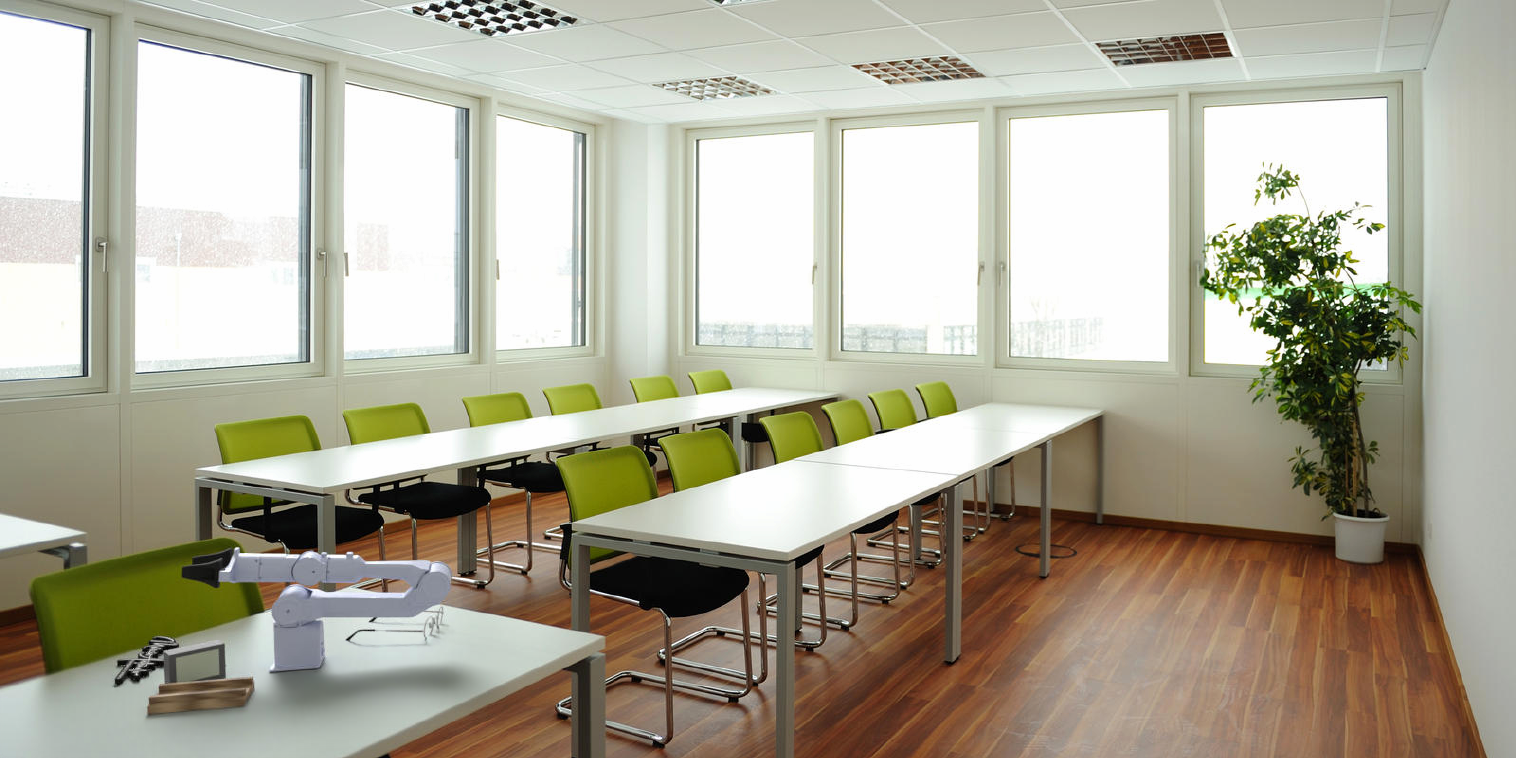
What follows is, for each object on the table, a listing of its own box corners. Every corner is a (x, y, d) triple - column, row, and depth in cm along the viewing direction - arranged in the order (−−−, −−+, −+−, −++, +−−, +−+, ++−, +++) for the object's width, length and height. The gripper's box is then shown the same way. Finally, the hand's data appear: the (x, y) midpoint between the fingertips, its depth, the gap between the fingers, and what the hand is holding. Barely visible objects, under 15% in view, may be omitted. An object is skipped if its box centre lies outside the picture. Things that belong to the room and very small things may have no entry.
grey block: (219, 673, 209) (218, 639, 208) (226, 677, 206) (224, 643, 206) (164, 685, 202) (163, 650, 201) (170, 691, 199) (168, 655, 199)
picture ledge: (254, 688, 200) (254, 674, 200) (244, 705, 192) (243, 691, 191) (162, 696, 196) (161, 682, 196) (147, 714, 187) (146, 699, 187)
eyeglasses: (427, 644, 228) (426, 622, 227) (342, 644, 228) (342, 621, 228) (449, 622, 244) (449, 601, 243) (370, 622, 244) (370, 601, 244)
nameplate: (134, 638, 227) (186, 633, 230) (135, 645, 227) (186, 640, 230) (100, 681, 201) (159, 675, 204) (101, 688, 201) (159, 682, 204)
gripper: (269, 540, 217) (197, 539, 214) (254, 556, 203) (178, 556, 200) (267, 573, 218) (196, 573, 214) (253, 592, 204) (176, 592, 200)
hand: (187, 567), depth 207 cm, fingers open, 7 cm apart
